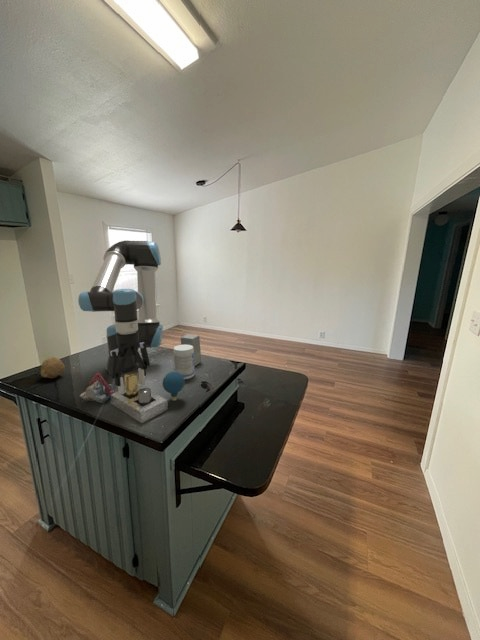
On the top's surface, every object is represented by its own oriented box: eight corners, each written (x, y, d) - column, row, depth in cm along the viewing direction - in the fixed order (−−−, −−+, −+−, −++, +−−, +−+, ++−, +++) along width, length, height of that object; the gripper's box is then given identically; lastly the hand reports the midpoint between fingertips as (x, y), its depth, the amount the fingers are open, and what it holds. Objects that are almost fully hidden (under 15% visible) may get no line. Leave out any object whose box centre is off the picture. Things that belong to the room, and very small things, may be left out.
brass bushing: (124, 403, 99) (122, 375, 96) (135, 399, 102) (132, 371, 99) (131, 407, 96) (128, 378, 93) (141, 402, 100) (139, 374, 97)
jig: (111, 403, 98) (109, 385, 96) (137, 393, 107) (135, 375, 105) (142, 423, 87) (140, 402, 85) (167, 409, 95) (166, 389, 94)
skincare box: (201, 362, 140) (201, 335, 137) (193, 367, 134) (193, 338, 131) (189, 359, 144) (188, 333, 141) (181, 364, 138) (180, 336, 134)
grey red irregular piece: (124, 388, 106) (107, 373, 97) (108, 413, 99) (89, 400, 91) (103, 383, 110) (85, 369, 101) (87, 407, 103) (66, 394, 94)
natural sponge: (70, 373, 124) (67, 354, 122) (58, 382, 115) (55, 361, 113) (51, 373, 123) (48, 354, 121) (37, 382, 115) (34, 361, 112)
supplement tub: (197, 377, 122) (197, 348, 119) (178, 382, 117) (177, 352, 114) (189, 370, 130) (189, 343, 127) (171, 374, 125) (170, 346, 122)
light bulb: (172, 393, 107) (171, 366, 104) (189, 397, 104) (188, 370, 101) (159, 403, 99) (157, 374, 97) (176, 408, 96) (175, 378, 94)
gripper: (103, 340, 82) (110, 403, 87) (157, 327, 99) (160, 381, 104) (92, 336, 87) (99, 396, 92) (146, 324, 103) (149, 376, 108)
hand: (132, 388), depth 98 cm, fingers open, 8 cm apart
